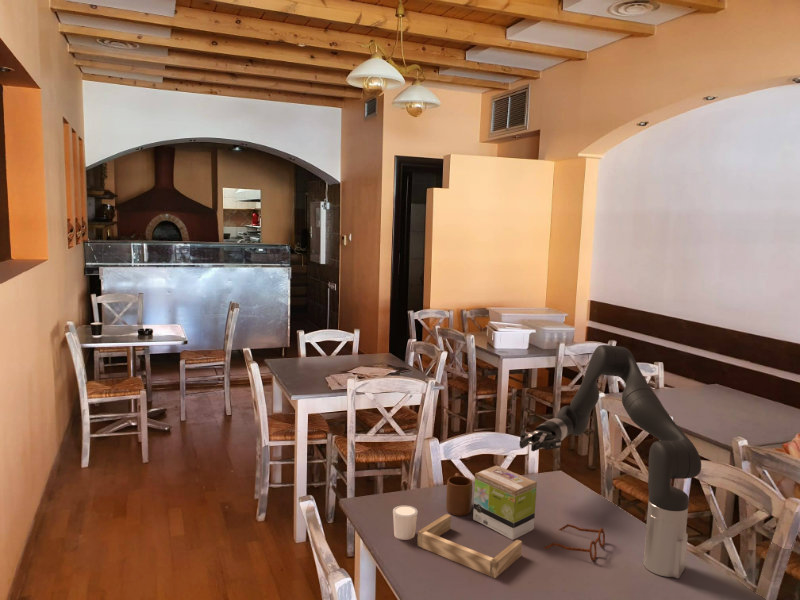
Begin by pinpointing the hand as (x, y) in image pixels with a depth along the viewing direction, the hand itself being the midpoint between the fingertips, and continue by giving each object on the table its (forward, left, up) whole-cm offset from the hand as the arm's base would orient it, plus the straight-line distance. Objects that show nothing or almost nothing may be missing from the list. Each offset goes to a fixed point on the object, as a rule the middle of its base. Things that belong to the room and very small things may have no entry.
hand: (526, 446), depth 188 cm
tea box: (0, +13, -20) cm, 24 cm away
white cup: (+18, +36, -20) cm, 45 cm away
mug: (+16, +12, -20) cm, 28 cm away
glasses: (-20, +10, -21) cm, 31 cm away
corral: (0, +31, -20) cm, 37 cm away
